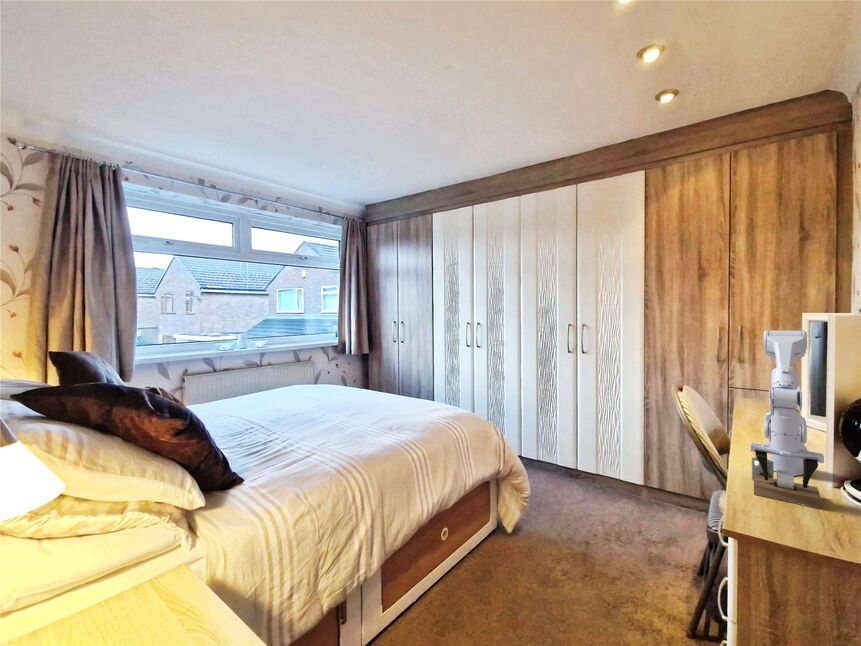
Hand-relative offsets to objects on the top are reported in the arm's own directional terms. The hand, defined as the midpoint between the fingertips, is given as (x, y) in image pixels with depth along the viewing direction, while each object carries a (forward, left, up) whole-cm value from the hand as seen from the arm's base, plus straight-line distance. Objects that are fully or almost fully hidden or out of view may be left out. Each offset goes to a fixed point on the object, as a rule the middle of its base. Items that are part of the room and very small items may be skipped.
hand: (785, 482), depth 104 cm
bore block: (0, 0, -3) cm, 3 cm away
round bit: (-5, -8, -3) cm, 10 cm away
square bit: (0, 0, -3) cm, 3 cm away
